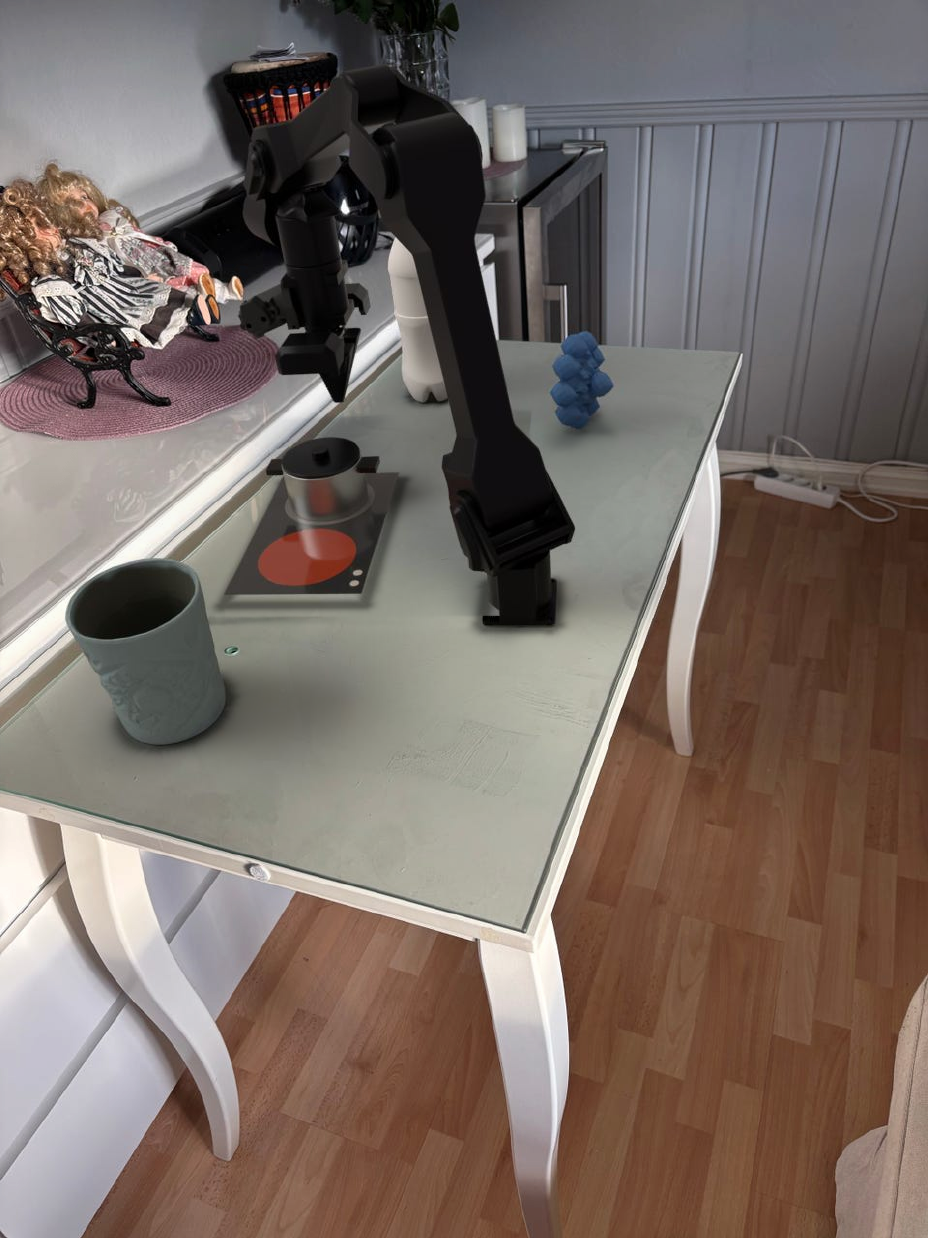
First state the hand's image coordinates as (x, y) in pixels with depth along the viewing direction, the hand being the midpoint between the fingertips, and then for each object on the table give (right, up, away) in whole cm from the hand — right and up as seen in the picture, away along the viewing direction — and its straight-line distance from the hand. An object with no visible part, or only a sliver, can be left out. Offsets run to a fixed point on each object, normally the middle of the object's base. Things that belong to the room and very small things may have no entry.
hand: (339, 401), depth 102 cm
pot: (-1, -12, -4) cm, 12 cm away
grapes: (+29, -2, +7) cm, 29 cm away
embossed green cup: (-10, -32, -26) cm, 42 cm away
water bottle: (+10, +5, +18) cm, 21 cm away
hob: (-1, -16, -7) cm, 17 cm away
